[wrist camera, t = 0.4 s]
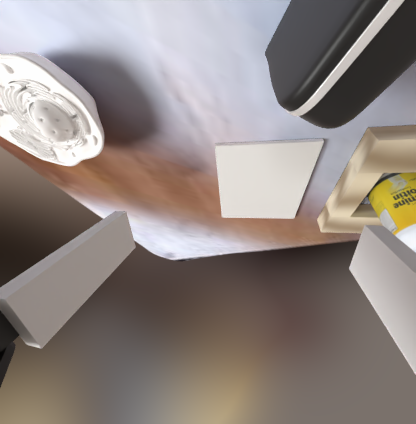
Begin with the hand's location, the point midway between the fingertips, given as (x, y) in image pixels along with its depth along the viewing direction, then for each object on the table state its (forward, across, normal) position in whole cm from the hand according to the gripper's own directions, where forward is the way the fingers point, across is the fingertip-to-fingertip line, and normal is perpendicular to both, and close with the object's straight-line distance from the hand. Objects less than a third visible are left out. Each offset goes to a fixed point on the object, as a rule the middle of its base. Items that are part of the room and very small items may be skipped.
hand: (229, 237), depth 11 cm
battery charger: (+11, +5, +13) cm, 18 cm away
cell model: (+11, -19, +9) cm, 24 cm away
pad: (+18, +2, -3) cm, 18 cm away
